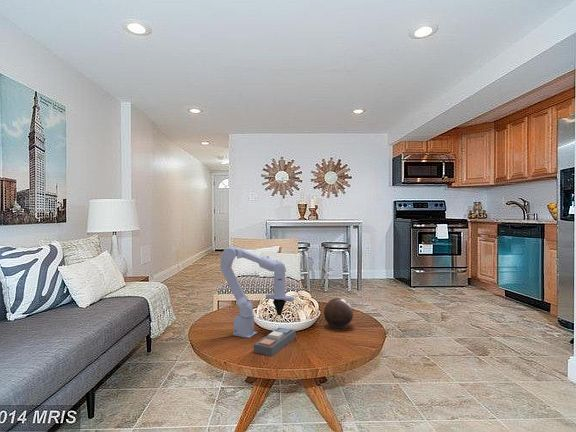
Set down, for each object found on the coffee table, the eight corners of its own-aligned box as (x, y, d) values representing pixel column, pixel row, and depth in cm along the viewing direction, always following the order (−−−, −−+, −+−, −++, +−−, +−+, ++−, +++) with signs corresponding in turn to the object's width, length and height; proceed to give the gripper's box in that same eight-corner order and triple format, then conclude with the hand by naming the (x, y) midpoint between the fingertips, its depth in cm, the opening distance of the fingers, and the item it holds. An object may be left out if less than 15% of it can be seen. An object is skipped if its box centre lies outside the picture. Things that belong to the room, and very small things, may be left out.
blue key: (276, 336, 162) (276, 330, 162) (281, 332, 167) (281, 327, 167) (286, 338, 160) (286, 332, 160) (291, 334, 165) (291, 329, 165)
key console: (253, 352, 148) (253, 344, 148) (279, 334, 169) (279, 327, 169) (271, 356, 144) (271, 347, 144) (295, 337, 165) (295, 330, 165)
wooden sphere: (355, 332, 172) (355, 302, 172) (325, 332, 173) (325, 302, 172) (350, 322, 187) (350, 295, 187) (322, 322, 188) (322, 295, 187)
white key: (268, 340, 155) (268, 334, 155) (273, 336, 160) (273, 331, 160) (278, 341, 153) (278, 336, 153) (283, 338, 158) (283, 332, 157)
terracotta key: (259, 348, 148) (259, 342, 148) (265, 344, 153) (265, 338, 152) (269, 350, 146) (269, 344, 146) (275, 346, 150) (275, 340, 150)
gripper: (262, 287, 170) (262, 314, 170) (289, 290, 163) (289, 318, 163) (269, 284, 176) (269, 311, 176) (295, 287, 170) (295, 315, 170)
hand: (279, 314), depth 170 cm, fingers closed
